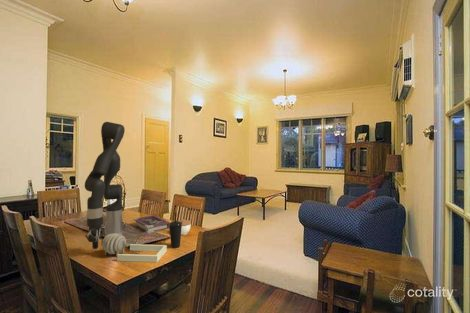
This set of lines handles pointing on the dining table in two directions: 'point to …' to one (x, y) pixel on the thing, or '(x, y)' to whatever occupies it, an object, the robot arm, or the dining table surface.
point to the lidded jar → (185, 226)
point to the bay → (143, 258)
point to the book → (151, 223)
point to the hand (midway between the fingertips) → (95, 248)
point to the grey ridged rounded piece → (114, 243)
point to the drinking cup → (175, 233)
